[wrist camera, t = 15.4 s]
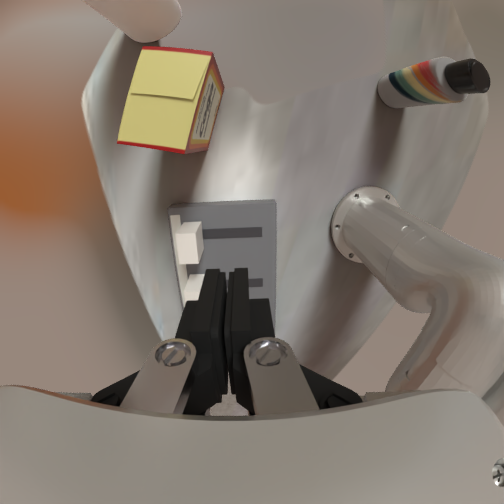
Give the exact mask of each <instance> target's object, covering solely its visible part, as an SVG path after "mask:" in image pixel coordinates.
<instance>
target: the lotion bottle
mask: <svg viewBox="0 0 504 504" xmlns="http://www.w3.org/2000/svg"><path fill="white" fill-rule="evenodd" d="M489 87H490V77H489V74H488V72H487V70H486V69H485V67H484V66H483V64H482V63H480V62H478V61H477V60H475V59H466V60H462V61H457V62H455V61H454V60H453V59H451V58H449V57H439V58H435V59H432V60H429V61H425V62H422V63H419V64H416V65H413V66H410V67H407V68H404V69H401V70H399V71H396V72H393V73H390V74H388V75H385V76H384V77H382V78H381V79H380V80H379V82H378V93H379V96H380V98H381V99H382V101H383V102H384V103H385V104H386V105H388V106H390V107H392V108H405V107H413V106H422V105H432V104H445V103H458V102H462V101H464V100H465V99H466V97H467V95H468V94H473V93H485V92H487V91H488V89H489Z"/></svg>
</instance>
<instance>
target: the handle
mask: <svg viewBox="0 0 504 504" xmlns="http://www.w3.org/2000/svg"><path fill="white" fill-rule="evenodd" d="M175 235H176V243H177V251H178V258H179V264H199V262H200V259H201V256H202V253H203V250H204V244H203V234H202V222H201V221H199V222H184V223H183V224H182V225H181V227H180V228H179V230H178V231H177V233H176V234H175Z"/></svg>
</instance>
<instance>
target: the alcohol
mask: <svg viewBox="0 0 504 504" xmlns="http://www.w3.org/2000/svg"><path fill="white" fill-rule="evenodd" d="M82 1H83V2H85V3H86V4H87V5H89V6H90V7H92V8H93V9H94V10H96V11H97V12H98V13H100V14H101V15H102V16H104V17H105V18H106V19H107V20H109V21H110V22H112V23H113V24H114V25H115V26H116V27H118V28H119V29H120V30H121V31H123V32H124V33H125V34H126V35H127V36H129V37H130V38H131V39H132V40H134V41H137V42H141V43H147V42H153V41H157V40H159V39H161V38H163V37H165V36H167V35H168V34H169V33H170V32H172V31H173V30H174V29H175V27H176V26H177V25H178V24H179V22H180V19H181V15H182V11H181V8H180V5H179V3H178V2H177V0H82Z"/></svg>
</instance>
